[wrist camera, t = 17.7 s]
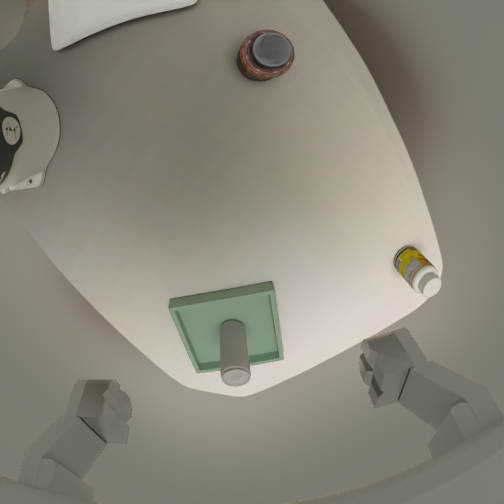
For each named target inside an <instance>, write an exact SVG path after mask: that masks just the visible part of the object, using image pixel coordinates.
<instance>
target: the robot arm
mask: <svg viewBox="0 0 504 504" xmlns="http://www.w3.org/2000/svg"><path fill="white" fill-rule="evenodd" d="M59 134H60V124H59V117H58V113H57V110H56V107H55V105H54V103H53V101H52V100H51V99H50V97H49V96H48V95H47V94H46V93H44V92H43V91H41V90H39V89H36V88H31V87H28V86H26V85H25V84H24V83H23V82H22V81H21V80H20V79H14V80H11V81H10V82H9V83H8V84H7V85H6V86H5V87H4V88H3V89H2V90H0V192H1V194H5V193H7V192H9V191H13V190H20V189H27V188H35V187H38V186H41V185H42V184H43V182H44V178H45V173H46V168H47V166H48V164H49V162H50V161H51V159H52V157H53V155H54V153H55V151H56V148H57V145H58V141H59ZM31 179H32V182H31ZM361 349H362V351H363V354H362V355H361V356H360V359H359V367H360V373H361V376H362V379H363V381H364V383H366V384H367V385H369V386H370V388H369V395H370V398H371V400H372V403H373V405H374V407H375V408H378V407H381V406H385V405H388V404H391V403H394V402H397V401H398V403H400V404H401V405H402V406H404V407H405V408H406V409H408V410H409V411H411V412H412V413H413V414H415V415H416V416H418V417H419V418H420V419H422V420H423V421H425V422H426V423H427V424H429V425H430V426H431V427H433V428H434V429H436V432H435V433H434V434H433V436H432V437H431V438H430V440H429V442H428V444H427V446H428V448H429V450H430V453H431V455H432V458H431V459H429V460H426V461H424V462H422V463H420V464H417V465H415V466H413V467H410V468H408V469H405V470H403V471H401V472H398V473H395V474H393V475H390V476H387V477H385V478H382V479H379V480H376V481H373V482H370V483H367V484H364V485H361V486H358V487H354V488H351V489H347V490H344V491H340V492H336V493H333V494H328V495H324V496H320V497H315V498H311V499H306V500H301V501H296V502H290V503H284V504H504V416H503V414H502V412H501V410H500V409H499V407H498V406H497V404H496V402H495V401H494V399H493V397H492V396H491V394H490V392H489V391H488V389H487V388H486V387H484V386H482V385H480V384H478V383H476V382H474V381H472V380H470V379H468V378H466V377H464V376H462V375H460V374H458V373H456V372H454V371H452V370H450V369H448V368H446V367H444V366H442V365H440V364H438V363H436V362H434V361H430V362H428V360H427V359H426V357H425V355H424V354H423V353H422V351H421V349H420V348H419V346H418V344H417V343H416V341H415V340H414V338H413V337H412V335H411V334H410V332H409V331H408V329H406V328H402V329H398V330H395V331H392V332H388V333H384V334H381V335H378V336H374V337H371V338H367V339H364V340H363V341H362V344H361ZM131 415H132V405H131V401H130V398H129V397H128V395H127V394H126V393H125V392H123V391H121V390H120V384H119V383H118V382H117V381H116V380H77V381H76V382H75V384H74V388H73V390H72V393H71V397H70V400H69V403H68V406H67V409H66V412H65V415H64V416H61V417H60V418H59V419H58V420H57V421H56V422H55V423H54V424H53V425H52V426H51V427H50V428H49V429H48V430H47V431H46V432H45V433H44V434H43V435H42V436H41V437H40V438H39V439H38V440H37V441H36V442H35V443H34V444H33V445H32V446H31V447H30V448H29V449H28V450H27V451H26V452H25V454H24V458H23V462H22V465H21V469H20V473H19V477H18V481H15V480H13V479H10V478H7V477H5V476H2V475H0V504H103V503H97V502H92V498H93V490H94V489H93V487H92V486H91V485H89V484H88V483H86V482H85V481H83V480H82V479H83V478H84V476H85V475H86V473H87V472H88V471H89V469H90V468H91V467H92V465H93V464H94V462H95V461H96V459H97V458H98V457H99V455H100V454H101V452H102V451H103V450H104V448H105V447H106V445H107V443H117V444H118V443H120V444H127V441H128V434H129V426H128V425H127V422H128V420H129V419H130V418H131Z"/></svg>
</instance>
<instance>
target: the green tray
mask: <svg viewBox="0 0 504 504" xmlns="http://www.w3.org/2000/svg"><path fill="white" fill-rule="evenodd" d="M169 310H170V313H171V315H172V318H173V320H174V323H175V325H176V327H177V330H178V332H179V334H180V337H181V339H182V341H183V344H184V346H185V348H186V350H187V353H188V355H189V357H190V359H191V362H192V364H193V366H194V368H195V370H196V372H197V373H204V372H212V371H219V370H220V331H219V330H220V327H221V326H222V324H223V323H225V322H227V321H230V320H235V321H238V322H240V323H242V324H243V325H244V327H245V331H246V340H247V348H248V356H249V364H250V366H251V365H257V364H263V363H268V362H274V361H279V360H284V357H283V349H282V342H281V335H280V328H279V320H278V313H277V306H276V299H275V292H274V287H273V284H272V281H270V282H264V283H259V284H254V285H248V286H243V287H237V288H232V289H226V290H220V291H215V292H209V293H203V294H197V295H191V296H185V297H179V298H173V299H170V304H169Z"/></svg>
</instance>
